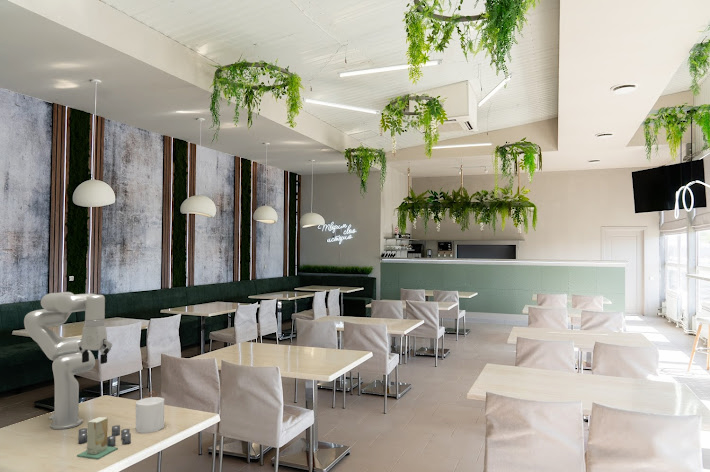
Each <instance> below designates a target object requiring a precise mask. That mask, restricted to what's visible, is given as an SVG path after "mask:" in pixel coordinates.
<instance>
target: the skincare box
mask: <svg viewBox="0 0 710 472" xmlns="http://www.w3.org/2000/svg"><path fill="white" fill-rule="evenodd" d="M108 421H109V417H104V416H103V417H102V416H99V417H96V418H94V419H91V420H89V421H87V443H86V444H87V446H86V450H87V453H89V454H98V453H99V452H101V451H103V450H105V449H107V437H108V432H109V431H108V429H109V427H108V423H109V422H108Z"/></svg>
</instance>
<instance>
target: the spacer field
mask: <svg viewBox="0 0 710 472" xmlns="http://www.w3.org/2000/svg"><path fill="white" fill-rule="evenodd" d="M131 435H132V433H131V431H130V428H124V429H123V428H122V429H121V425H119V424H116V425H112V426H111V435H109V436H107V446H109V447H116V438H117V437H118V436H120V439H121V445H129V444H131V442H132V441H131V440H132V439H131V437H132V436H131ZM87 438H88V427H87V428H86V427H84V428H79V429H78V444H79V445H83V444H87Z"/></svg>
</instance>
